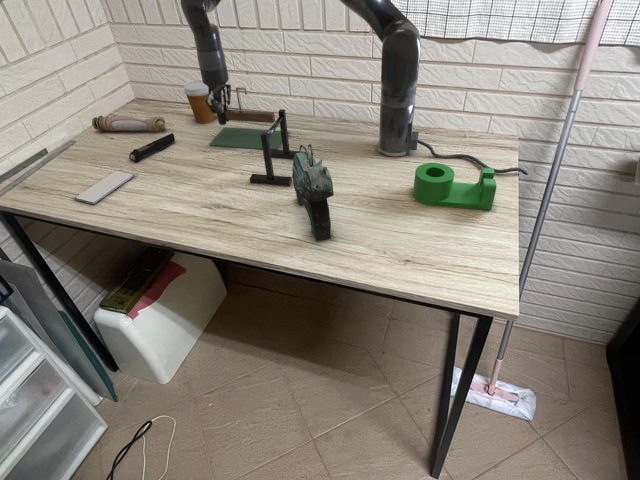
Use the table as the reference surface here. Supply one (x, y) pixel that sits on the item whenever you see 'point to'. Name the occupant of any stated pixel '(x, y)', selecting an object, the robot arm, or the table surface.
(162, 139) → the electric trimmer
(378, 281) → the table surface
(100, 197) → the smartphone
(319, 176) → the toy ray gun
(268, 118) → the brown bar with hook
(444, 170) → the green bracket
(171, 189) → the table surface
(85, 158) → the table surface
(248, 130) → the mat
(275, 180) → the rail stand
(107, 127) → the tan rolled cylinder
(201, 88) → the disposable coffee cup
